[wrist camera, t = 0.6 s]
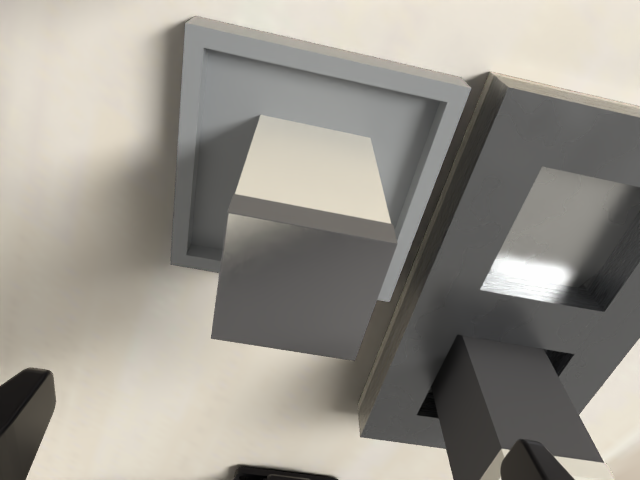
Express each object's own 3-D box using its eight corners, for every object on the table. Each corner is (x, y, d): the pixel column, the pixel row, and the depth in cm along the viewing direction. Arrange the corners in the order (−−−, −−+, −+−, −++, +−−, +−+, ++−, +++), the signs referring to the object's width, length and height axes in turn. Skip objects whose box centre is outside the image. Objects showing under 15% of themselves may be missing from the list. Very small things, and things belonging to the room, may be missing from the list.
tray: (385, 281, 22) (389, 302, 20) (179, 245, 21) (170, 264, 19) (460, 77, 17) (471, 88, 16) (195, 16, 16) (185, 22, 15)
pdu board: (528, 429, 27) (541, 461, 26) (357, 404, 26) (360, 437, 25) (742, 130, 18) (786, 151, 16) (489, 71, 17) (508, 87, 15)
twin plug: (503, 395, 25) (561, 539, 19) (429, 383, 25) (463, 527, 19) (539, 338, 23) (616, 482, 17) (458, 324, 22) (508, 467, 16)
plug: (344, 231, 20) (355, 360, 14) (244, 212, 19) (210, 338, 13) (371, 137, 17) (397, 243, 11) (259, 113, 17) (227, 212, 11)
